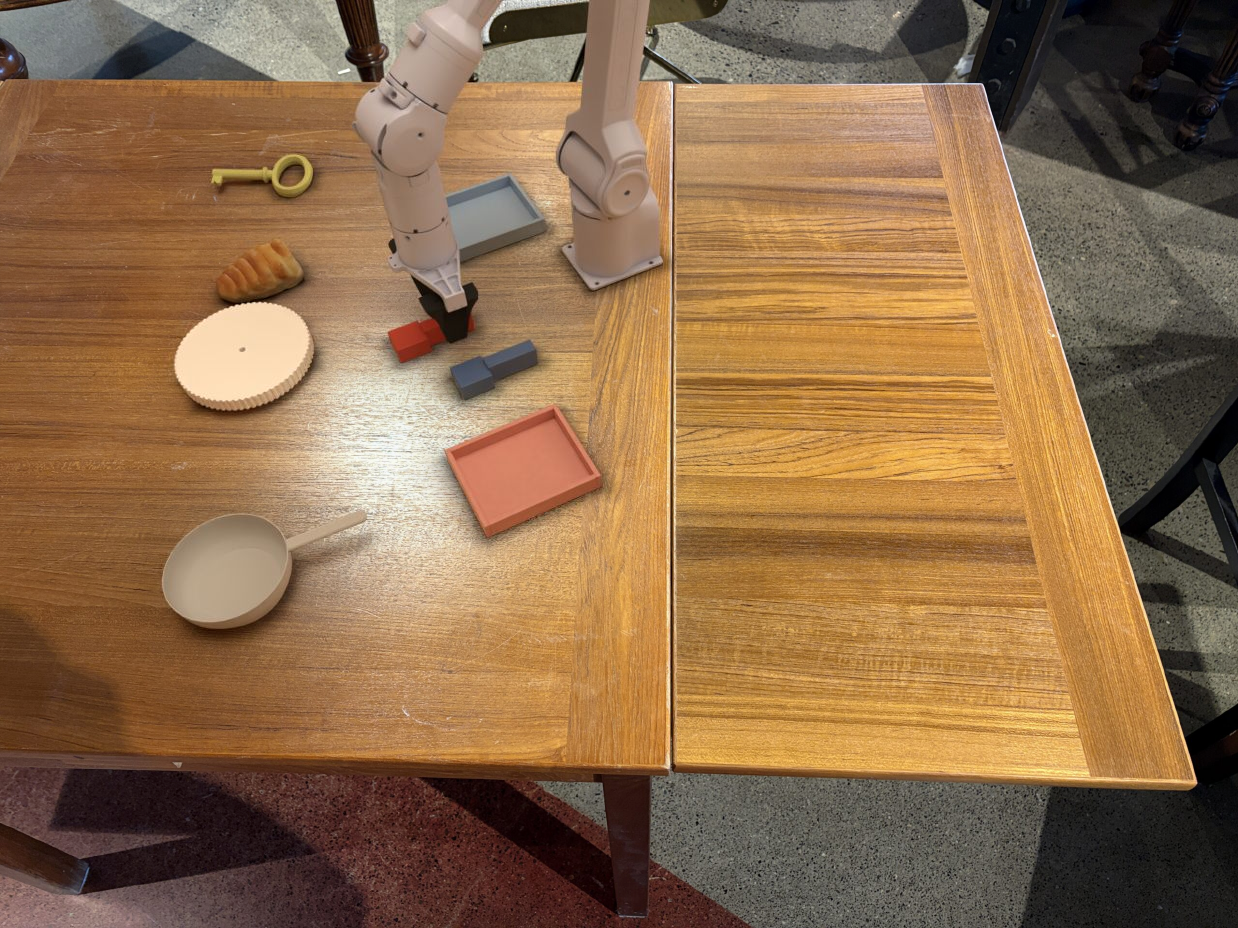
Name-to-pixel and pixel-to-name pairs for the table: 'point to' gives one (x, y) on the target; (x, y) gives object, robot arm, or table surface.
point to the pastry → (260, 273)
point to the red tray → (522, 469)
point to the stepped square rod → (492, 368)
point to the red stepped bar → (417, 338)
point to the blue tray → (492, 216)
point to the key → (270, 175)
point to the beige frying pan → (236, 568)
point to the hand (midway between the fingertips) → (444, 315)
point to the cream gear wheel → (244, 356)
